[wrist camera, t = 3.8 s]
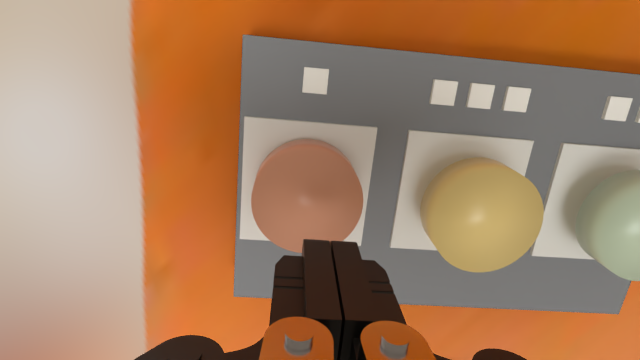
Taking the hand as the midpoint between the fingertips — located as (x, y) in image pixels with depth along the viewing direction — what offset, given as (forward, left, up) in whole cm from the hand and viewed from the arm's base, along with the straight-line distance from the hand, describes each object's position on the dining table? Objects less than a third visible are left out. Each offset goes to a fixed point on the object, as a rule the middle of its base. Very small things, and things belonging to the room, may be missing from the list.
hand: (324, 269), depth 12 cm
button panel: (-6, +3, -10) cm, 12 cm away
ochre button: (-6, +3, -6) cm, 9 cm away
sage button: (-12, +6, -6) cm, 15 cm away
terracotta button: (0, 0, -6) cm, 6 cm away
